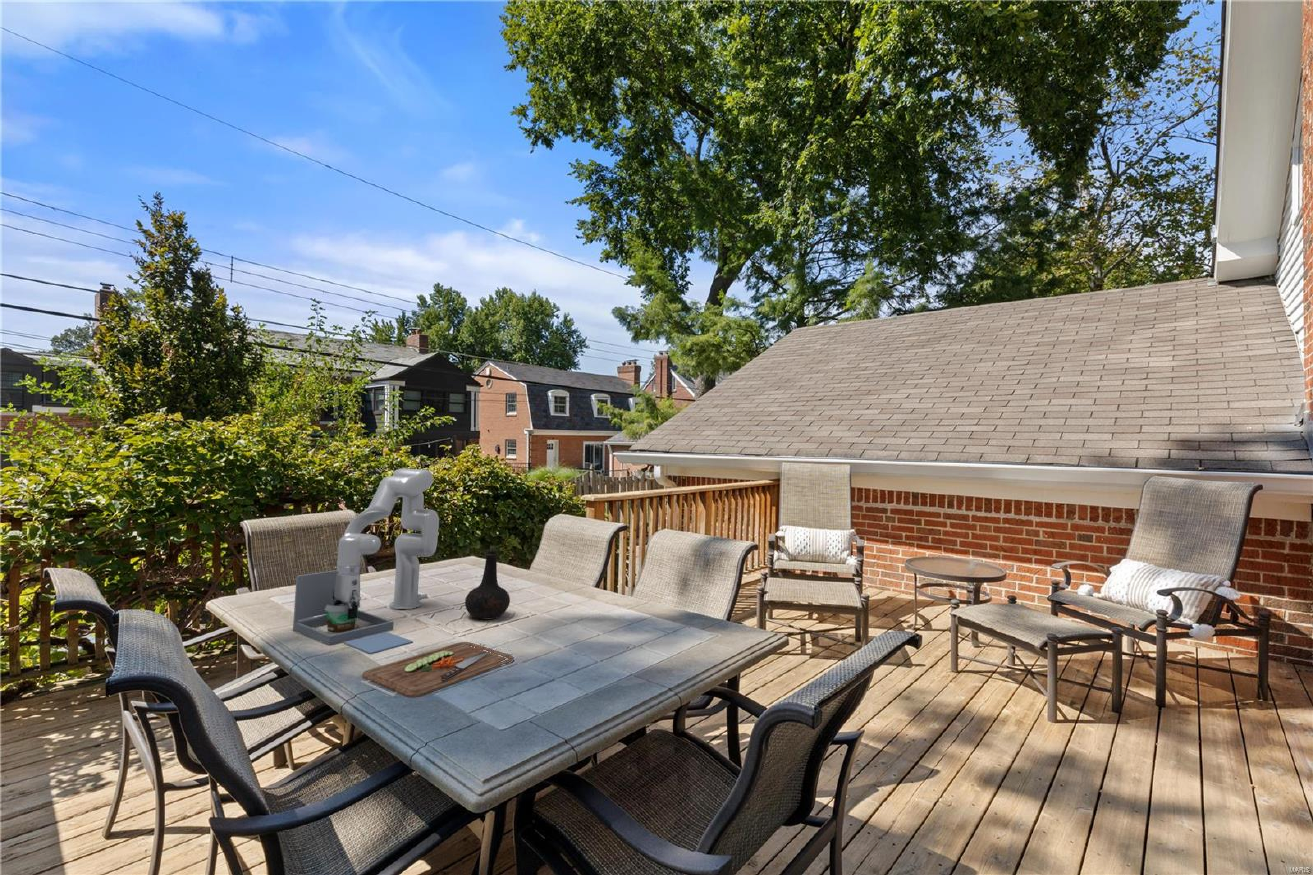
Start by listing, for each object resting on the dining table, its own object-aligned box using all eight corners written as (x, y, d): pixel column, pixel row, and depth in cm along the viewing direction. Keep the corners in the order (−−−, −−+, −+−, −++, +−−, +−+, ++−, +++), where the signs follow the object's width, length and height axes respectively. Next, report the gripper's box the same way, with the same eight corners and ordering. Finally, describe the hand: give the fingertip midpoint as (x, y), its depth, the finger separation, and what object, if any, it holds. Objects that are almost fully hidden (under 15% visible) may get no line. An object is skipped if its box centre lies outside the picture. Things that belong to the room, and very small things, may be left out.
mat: (386, 633, 217) (386, 631, 217) (412, 642, 208) (412, 641, 208) (343, 643, 204) (343, 642, 204) (370, 654, 195) (370, 652, 195)
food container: (330, 635, 211) (332, 608, 211) (323, 632, 215) (325, 604, 215) (365, 628, 221) (366, 602, 221) (357, 625, 225) (358, 599, 225)
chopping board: (470, 642, 213) (470, 634, 213) (523, 659, 199) (523, 650, 199) (350, 679, 175) (350, 669, 175) (404, 704, 161) (405, 692, 161)
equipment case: (356, 616, 235) (359, 566, 236) (393, 629, 222) (396, 576, 222) (292, 630, 215) (296, 575, 215) (329, 645, 201) (333, 587, 202)
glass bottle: (455, 619, 238) (459, 550, 239) (480, 608, 256) (484, 544, 256) (493, 625, 233) (497, 555, 234) (516, 614, 250) (520, 548, 251)
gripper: (370, 572, 217) (367, 618, 216) (345, 565, 226) (341, 610, 225) (351, 574, 211) (347, 622, 210) (325, 568, 220) (322, 613, 219)
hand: (344, 616), depth 218 cm, fingers open, 9 cm apart
